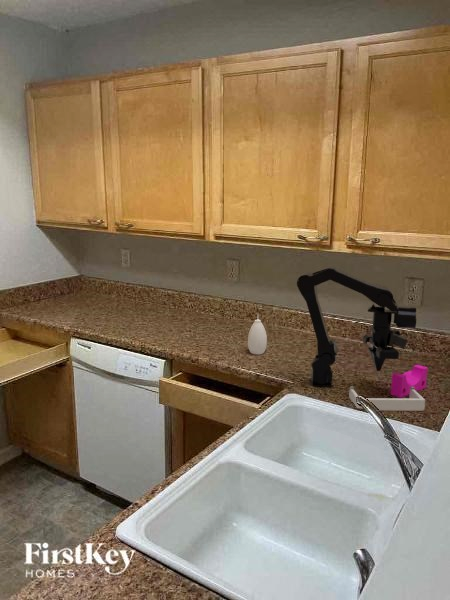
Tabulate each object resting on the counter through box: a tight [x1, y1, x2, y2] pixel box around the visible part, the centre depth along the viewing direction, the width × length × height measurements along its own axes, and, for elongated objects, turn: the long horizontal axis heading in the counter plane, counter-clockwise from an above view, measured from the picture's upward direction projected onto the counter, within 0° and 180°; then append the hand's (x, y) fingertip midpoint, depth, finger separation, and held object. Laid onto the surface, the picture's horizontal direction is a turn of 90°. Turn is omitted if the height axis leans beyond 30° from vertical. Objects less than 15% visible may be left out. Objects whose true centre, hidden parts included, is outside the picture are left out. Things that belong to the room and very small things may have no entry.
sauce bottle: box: [247, 315, 268, 356], centre depth 191 cm, size 8×8×18 cm
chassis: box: [348, 385, 426, 412], centre depth 147 cm, size 21×9×4 cm, turn 90°
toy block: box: [390, 364, 429, 398], centre depth 159 cm, size 15×6×8 cm, turn 127°
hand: (378, 370), depth 156 cm, fingers closed
